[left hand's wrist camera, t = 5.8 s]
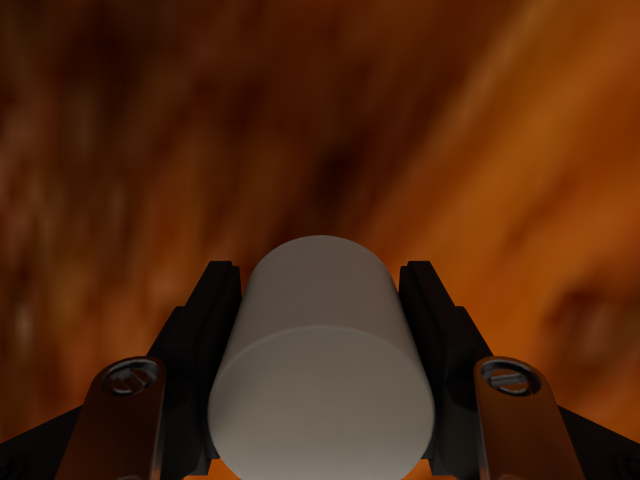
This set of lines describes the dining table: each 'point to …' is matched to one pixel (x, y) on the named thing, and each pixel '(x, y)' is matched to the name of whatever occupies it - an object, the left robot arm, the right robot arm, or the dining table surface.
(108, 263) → the dining table surface
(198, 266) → the dining table surface
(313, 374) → the canister
